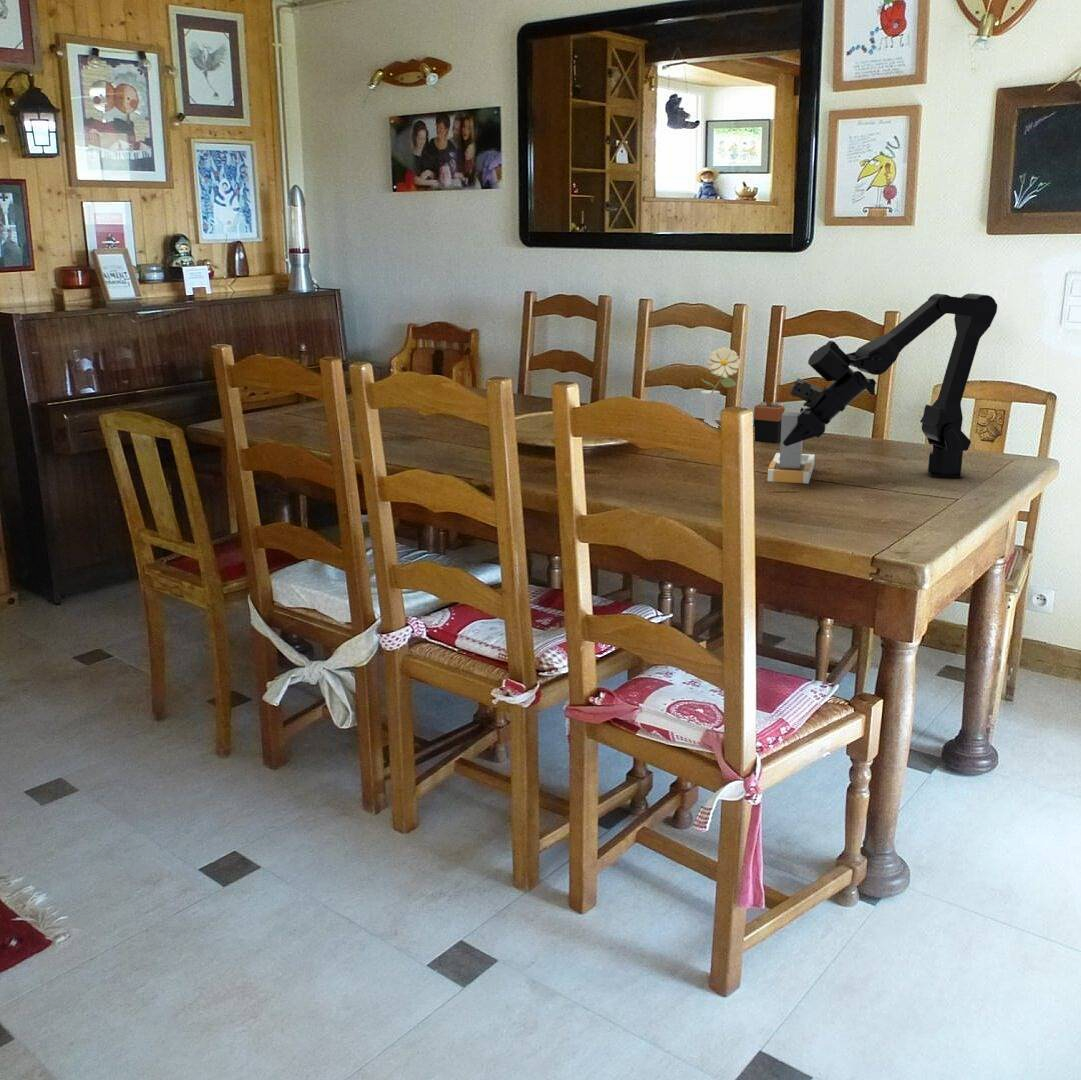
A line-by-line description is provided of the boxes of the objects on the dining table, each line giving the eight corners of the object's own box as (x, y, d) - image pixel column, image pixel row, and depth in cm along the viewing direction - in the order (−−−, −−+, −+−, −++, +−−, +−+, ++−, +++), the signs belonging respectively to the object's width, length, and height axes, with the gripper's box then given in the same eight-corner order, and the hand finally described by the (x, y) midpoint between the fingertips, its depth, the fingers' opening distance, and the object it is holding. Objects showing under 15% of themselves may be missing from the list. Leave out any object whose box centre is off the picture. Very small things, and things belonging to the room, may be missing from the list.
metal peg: (801, 470, 239) (804, 412, 235) (799, 474, 235) (802, 415, 231) (781, 469, 240) (783, 411, 237) (779, 473, 236) (781, 415, 233)
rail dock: (814, 465, 250) (814, 452, 249) (808, 483, 233) (809, 470, 232) (775, 463, 252) (776, 451, 252) (767, 481, 235) (767, 468, 234)
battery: (776, 443, 274) (778, 404, 272) (752, 440, 278) (753, 402, 276) (783, 440, 278) (785, 402, 275) (759, 438, 282) (761, 400, 279)
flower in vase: (681, 448, 270) (683, 348, 263) (692, 440, 280) (694, 343, 273) (732, 452, 265) (736, 350, 258) (742, 443, 275) (745, 345, 268)
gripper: (816, 361, 238) (764, 408, 245) (811, 372, 221) (755, 423, 228) (851, 397, 238) (798, 444, 245) (848, 411, 221) (791, 461, 228)
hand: (785, 442), depth 236 cm, fingers closed on metal peg, 4 cm apart
